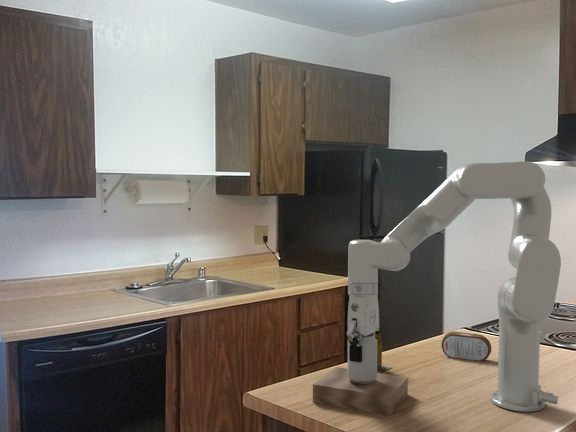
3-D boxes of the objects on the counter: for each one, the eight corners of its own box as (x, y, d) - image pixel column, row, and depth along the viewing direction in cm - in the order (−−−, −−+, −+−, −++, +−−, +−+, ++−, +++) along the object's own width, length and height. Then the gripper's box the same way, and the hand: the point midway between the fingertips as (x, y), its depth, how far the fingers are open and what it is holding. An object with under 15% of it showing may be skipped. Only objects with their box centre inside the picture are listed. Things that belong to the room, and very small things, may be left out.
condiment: (354, 369, 178) (355, 329, 178) (372, 363, 184) (373, 324, 183) (374, 374, 173) (374, 333, 172) (392, 368, 179) (392, 328, 178)
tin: (491, 361, 187) (491, 334, 186) (490, 364, 184) (490, 337, 183) (442, 355, 193) (442, 329, 193) (440, 358, 190) (440, 331, 190)
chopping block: (407, 396, 156) (407, 377, 156) (390, 417, 142) (390, 396, 142) (335, 384, 165) (336, 366, 165) (312, 403, 151) (312, 384, 150)
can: (357, 373, 158) (358, 328, 158) (382, 379, 154) (382, 332, 153) (341, 380, 153) (341, 333, 152) (367, 386, 148) (367, 338, 147)
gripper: (362, 295, 143) (362, 368, 144) (389, 285, 158) (388, 351, 158) (334, 292, 146) (333, 363, 147) (363, 282, 161) (362, 347, 162)
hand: (362, 357), depth 153 cm, fingers closed on can, 7 cm apart
